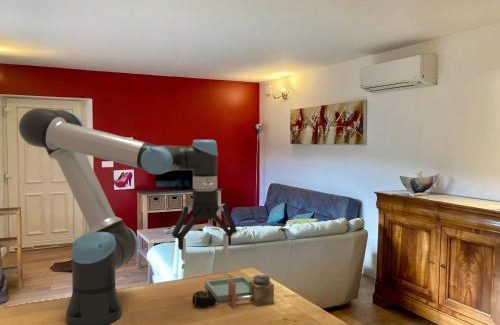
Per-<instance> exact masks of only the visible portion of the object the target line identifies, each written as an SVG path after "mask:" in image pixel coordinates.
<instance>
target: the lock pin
mask: <svg viewBox="0 0 500 325" xmlns="http://www.w3.org/2000/svg"><path fill="white" fill-rule="evenodd" d="M249 299H254V295H247V296H239V297H236V284H235V283H234V282H233V281H232V280H228V302H227V303H228V304H229V305H230V306H231V307H232V308H234V307H236V302H238V301H245V300H246V301H247V300H249Z"/></svg>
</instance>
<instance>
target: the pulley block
mask: <svg viewBox="0 0 500 325" xmlns="http://www.w3.org/2000/svg"><path fill="white" fill-rule="evenodd" d="M252 279H253V280H250V281H249V295H254V299H248V300H249V301H250V302H251V303H253V305H254V306H255V307H261V306H262V307H263V306H268V305H274V303H275V302H274V301H275V300H274V299H275V294H274V293H275V284H274V283H273V282H271V281H270V280H271V278H270V276H268V275H262V274H257V275H254V276H253V278H252Z"/></svg>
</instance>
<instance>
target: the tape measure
mask: <svg viewBox="0 0 500 325" xmlns="http://www.w3.org/2000/svg"><path fill="white" fill-rule="evenodd" d="M191 299H192V300H191V301H192V304H193V306H195V307H197V308H203V309H205V308H210V307H214V306H216V304H217V302H216V299H215V297H214V296H213V295H212V293H211V291H207V290H205V291H204V290H199V291H196V292H195V291H194V293H193V295H192V298H191Z"/></svg>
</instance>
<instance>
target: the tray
mask: <svg viewBox="0 0 500 325" xmlns="http://www.w3.org/2000/svg"><path fill="white" fill-rule="evenodd" d="M228 280H232V281H233V282H234V283H235V284H236V297H239V296H247V295H249V281H251V280H249V278H247V277H246V276H236V277H229V278H228V277H227V278H221V279H220V278H219V279H211V280H204V288H205V289H206V291H211V293H212V295H213V296H214V297H215V299H216V304H221V303H222V304H223V303H229V302H228Z"/></svg>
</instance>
